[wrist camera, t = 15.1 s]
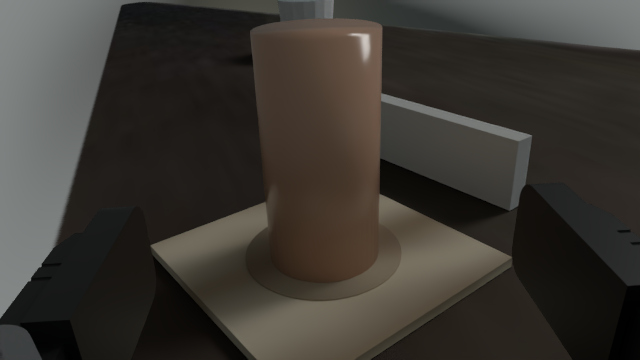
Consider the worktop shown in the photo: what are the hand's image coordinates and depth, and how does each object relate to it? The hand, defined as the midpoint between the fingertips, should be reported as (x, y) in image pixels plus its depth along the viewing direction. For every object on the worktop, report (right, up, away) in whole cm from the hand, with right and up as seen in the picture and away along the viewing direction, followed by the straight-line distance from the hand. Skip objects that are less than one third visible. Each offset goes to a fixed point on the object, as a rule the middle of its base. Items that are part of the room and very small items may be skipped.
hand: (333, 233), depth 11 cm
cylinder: (0, -2, +13) cm, 13 cm away
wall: (+7, +2, +21) cm, 23 cm away
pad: (0, -3, +13) cm, 14 cm away
